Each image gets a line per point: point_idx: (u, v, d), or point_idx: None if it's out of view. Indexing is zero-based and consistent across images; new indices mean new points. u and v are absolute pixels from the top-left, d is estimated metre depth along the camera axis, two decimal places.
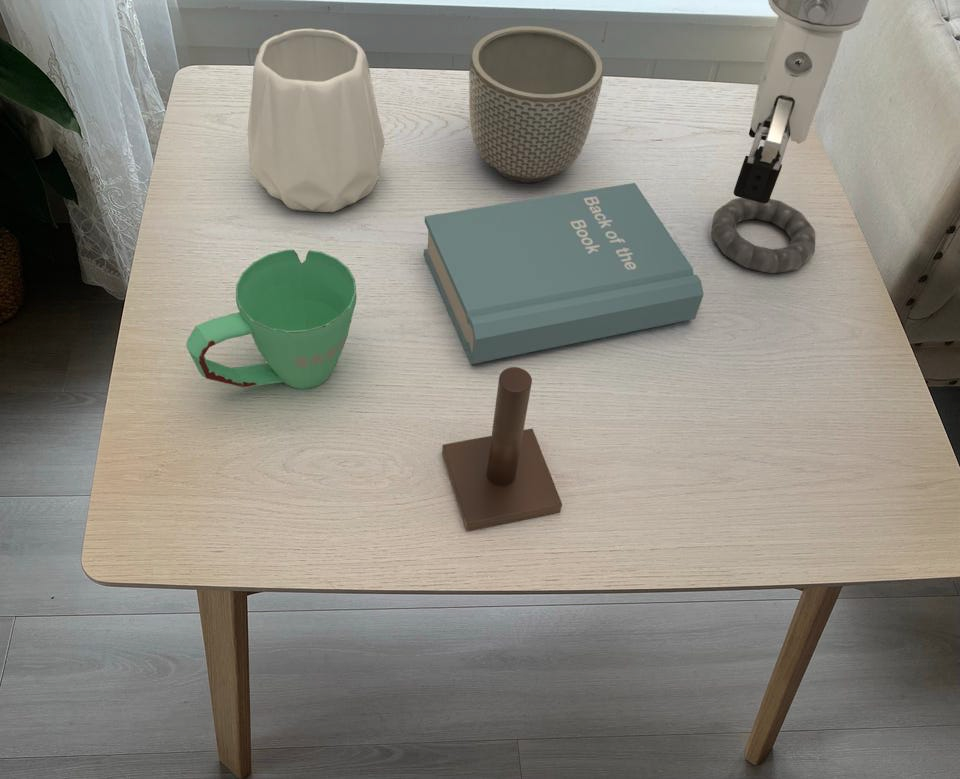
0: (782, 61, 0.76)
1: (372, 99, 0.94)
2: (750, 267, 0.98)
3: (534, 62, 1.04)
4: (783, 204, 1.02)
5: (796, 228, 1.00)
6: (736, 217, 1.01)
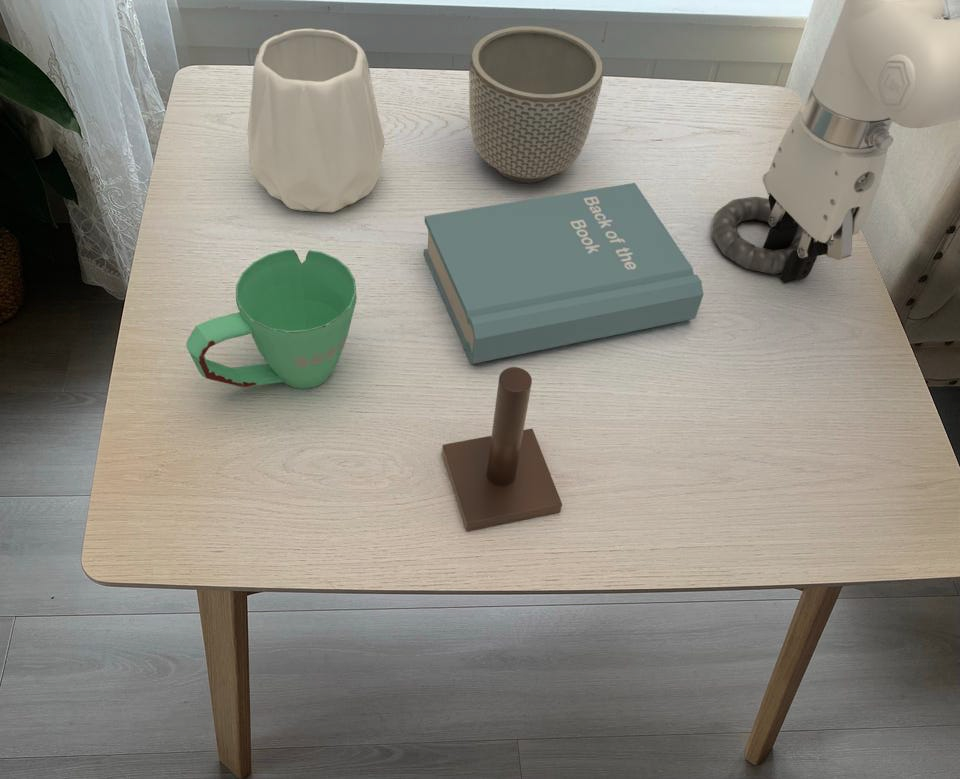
0: (852, 184, 0.85)
1: (372, 99, 0.94)
2: (750, 268, 0.97)
3: (534, 62, 1.04)
4: None
5: None
6: (736, 218, 1.01)
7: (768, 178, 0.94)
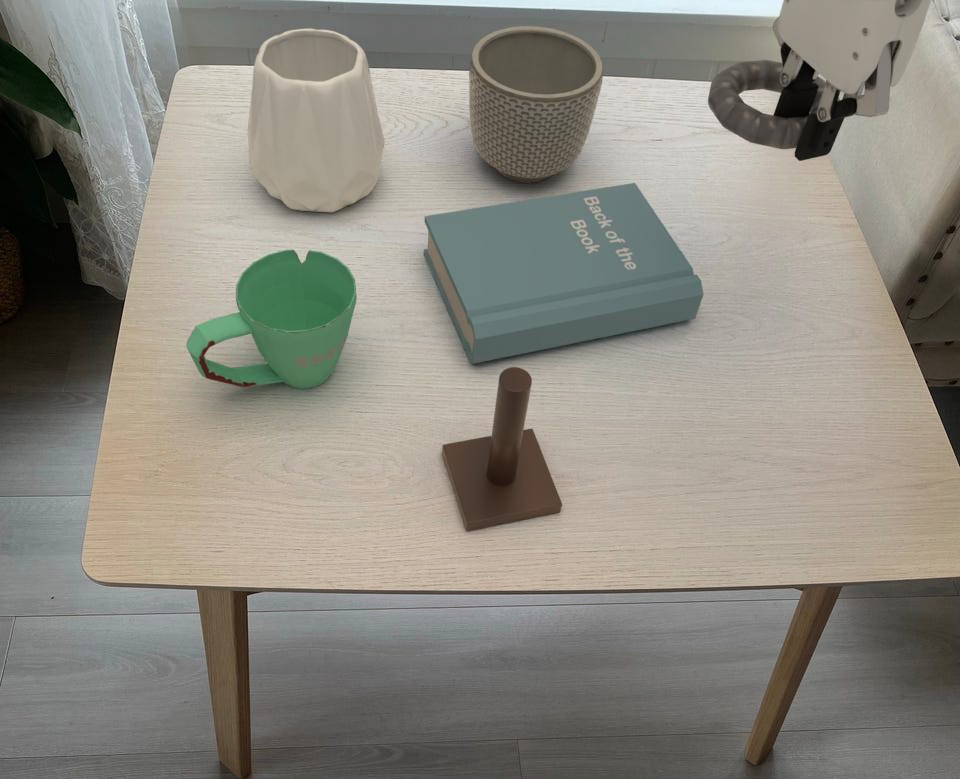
0: (892, 4, 0.63)
1: (372, 99, 0.94)
2: (756, 141, 0.76)
3: (534, 62, 1.04)
4: None
5: (816, 97, 0.79)
6: (740, 83, 0.79)
7: (780, 19, 0.73)
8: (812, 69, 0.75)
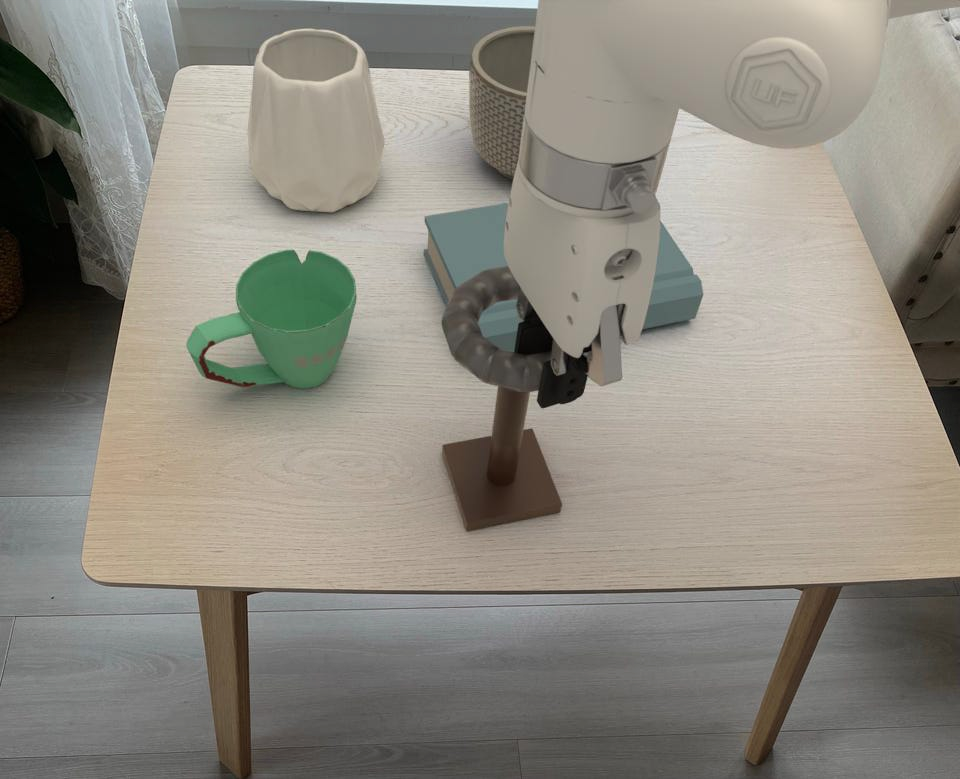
0: (600, 270, 0.49)
1: (372, 99, 0.94)
2: (490, 383, 0.62)
3: None
4: None
5: None
6: (483, 299, 0.65)
7: (504, 246, 0.58)
8: None
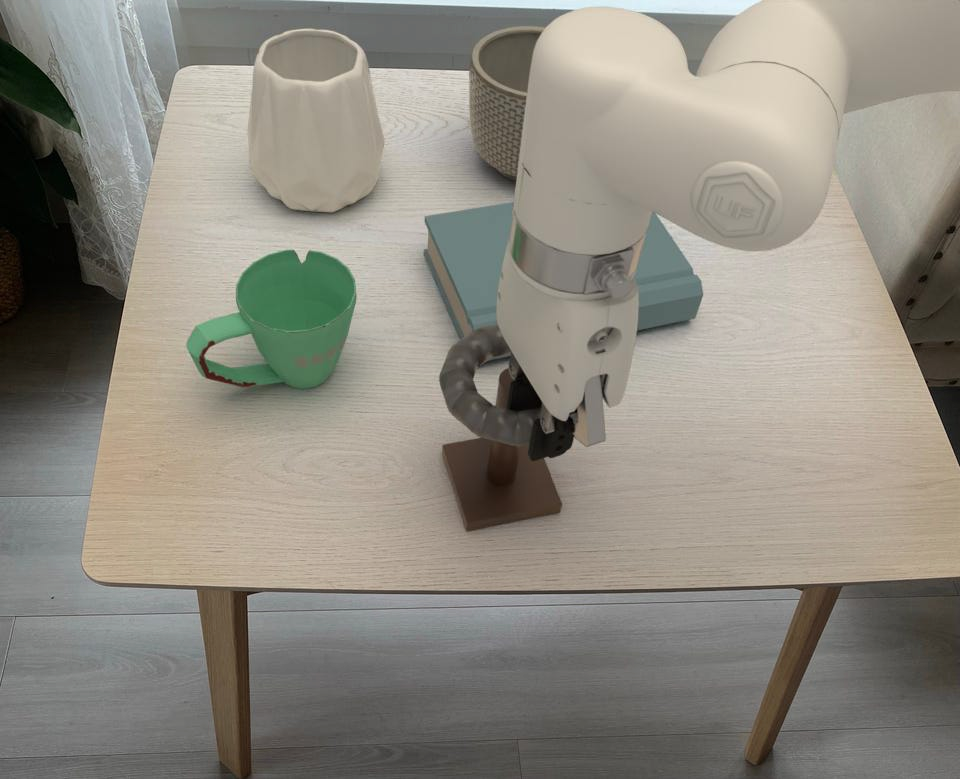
0: (584, 346, 0.54)
1: (372, 99, 0.94)
2: (484, 437, 0.66)
3: None
4: None
5: None
6: (478, 357, 0.70)
7: (497, 313, 0.63)
8: None
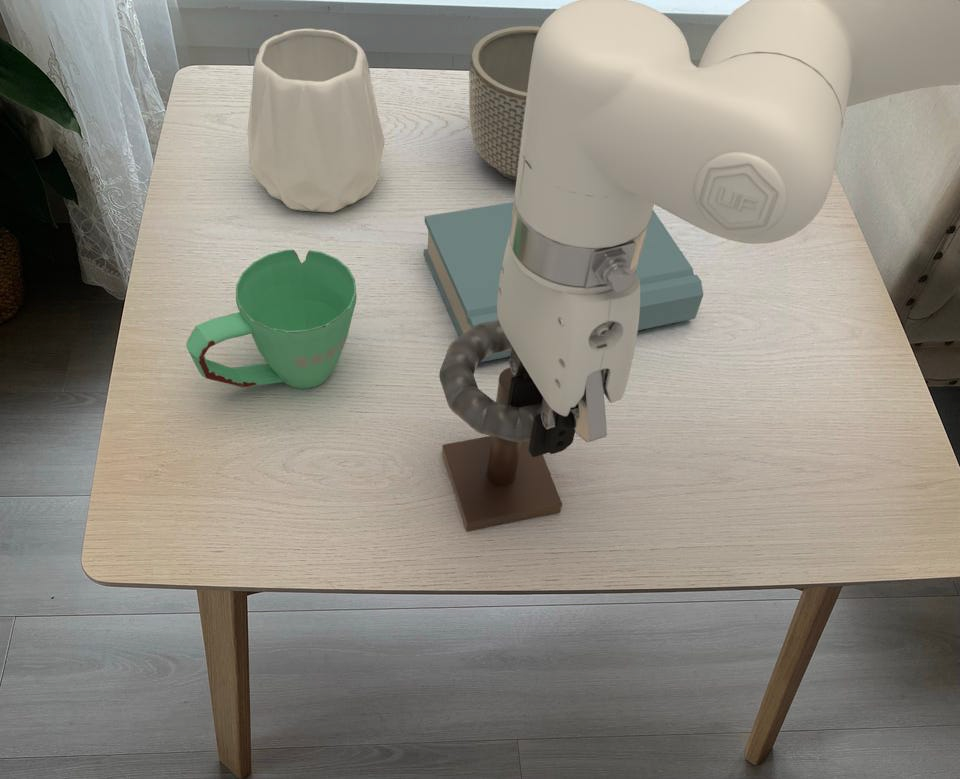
0: (585, 340, 0.53)
1: (372, 99, 0.94)
2: (485, 433, 0.66)
3: None
4: None
5: None
6: (478, 352, 0.69)
7: (497, 308, 0.62)
8: None
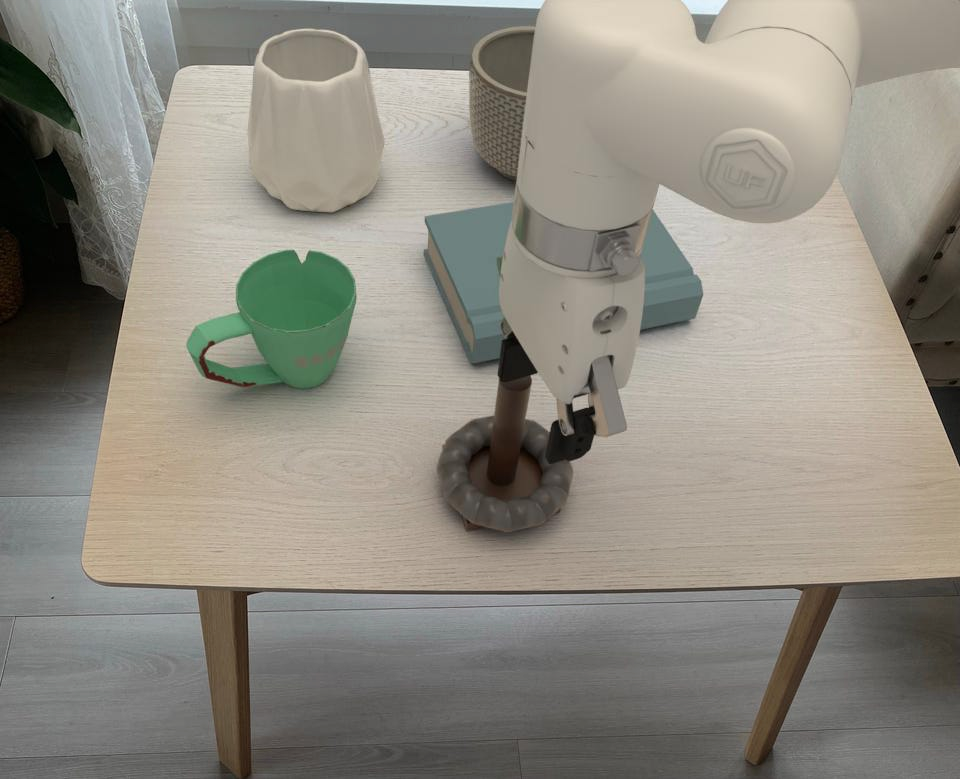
0: (588, 325, 0.52)
1: (372, 99, 0.94)
2: (478, 524, 0.74)
3: None
4: (536, 428, 0.78)
5: (546, 465, 0.77)
6: (471, 448, 0.77)
7: (499, 295, 0.62)
8: None
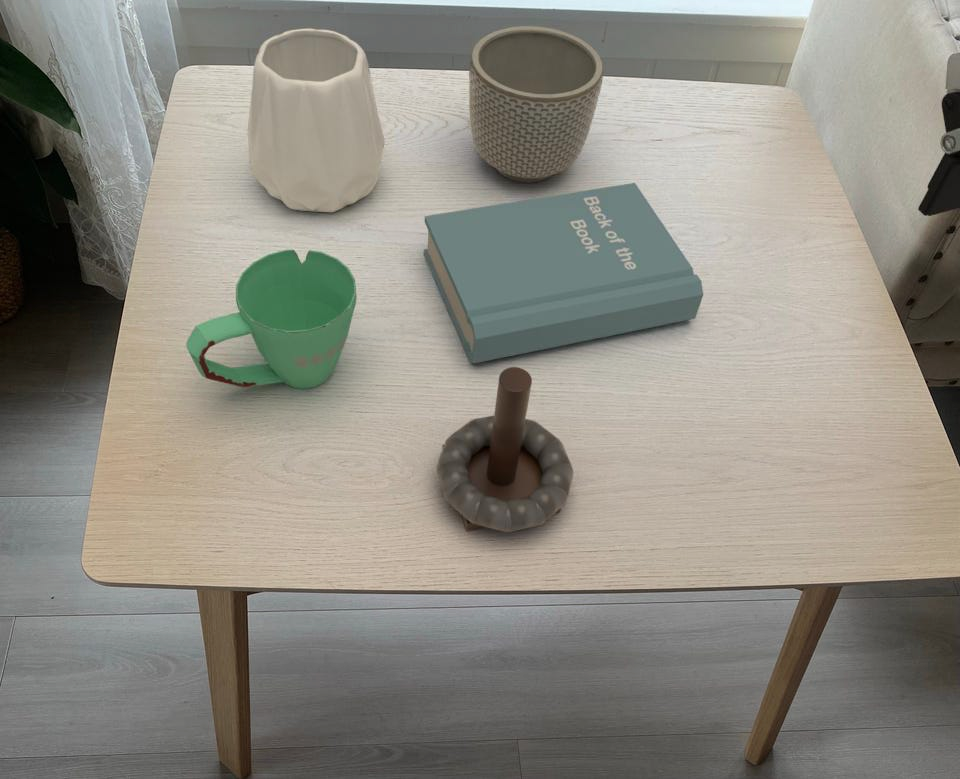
0: None
1: (372, 99, 0.94)
2: (478, 524, 0.74)
3: (534, 62, 1.04)
4: (536, 428, 0.78)
5: (546, 465, 0.77)
6: (471, 448, 0.77)
7: None
8: None
